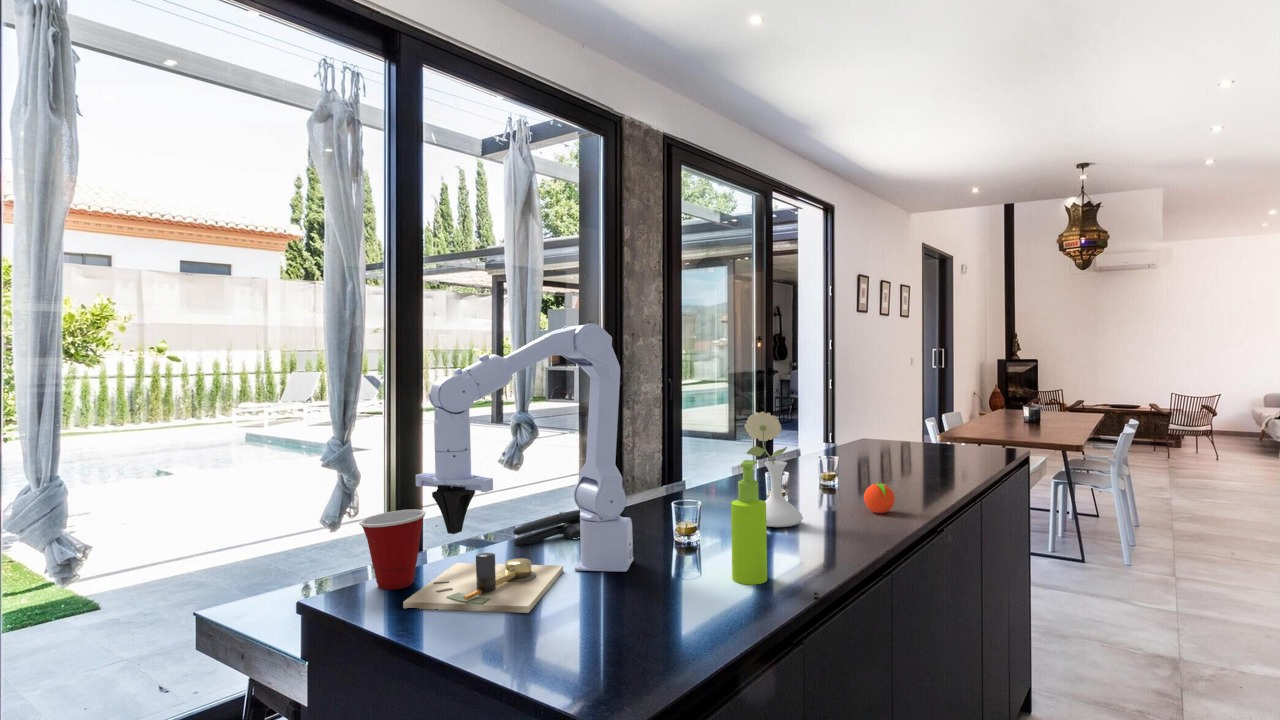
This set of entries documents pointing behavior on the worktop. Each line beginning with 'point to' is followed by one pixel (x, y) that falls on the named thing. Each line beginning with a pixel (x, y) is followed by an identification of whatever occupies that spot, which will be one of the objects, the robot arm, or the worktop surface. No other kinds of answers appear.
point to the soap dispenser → (748, 531)
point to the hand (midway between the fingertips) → (454, 532)
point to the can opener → (567, 529)
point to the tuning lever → (489, 580)
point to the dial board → (506, 597)
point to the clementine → (879, 498)
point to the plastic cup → (394, 546)
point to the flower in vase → (772, 471)
